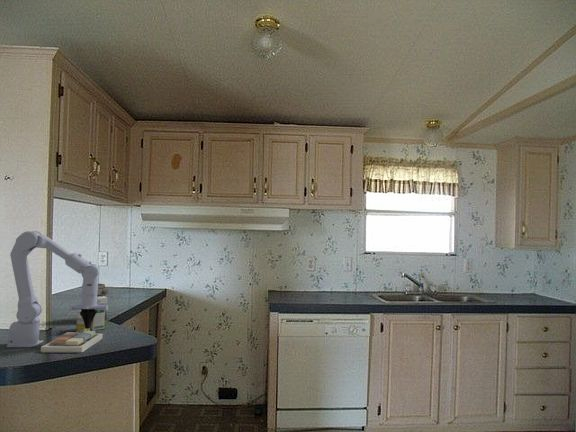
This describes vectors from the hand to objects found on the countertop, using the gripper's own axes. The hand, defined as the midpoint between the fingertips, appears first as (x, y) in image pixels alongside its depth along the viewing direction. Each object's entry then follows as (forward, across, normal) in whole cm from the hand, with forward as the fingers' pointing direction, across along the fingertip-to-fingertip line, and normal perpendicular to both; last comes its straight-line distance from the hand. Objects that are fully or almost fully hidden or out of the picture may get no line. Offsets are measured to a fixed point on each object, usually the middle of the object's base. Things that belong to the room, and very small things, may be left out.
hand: (87, 328), depth 155 cm
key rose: (+3, -6, -3) cm, 7 cm away
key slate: (+3, 0, -5) cm, 7 cm away
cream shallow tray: (+5, -3, -6) cm, 8 cm away
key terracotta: (+3, -6, -8) cm, 11 cm away
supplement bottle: (+6, -8, +14) cm, 17 cm away
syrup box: (+6, -4, +20) cm, 22 cm away
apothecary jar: (+6, -12, +36) cm, 39 cm away
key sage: (+3, 0, 0) cm, 3 cm away
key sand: (+3, 0, -11) cm, 12 cm away
